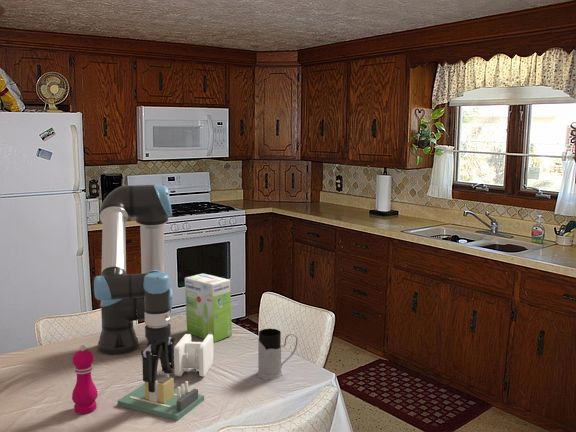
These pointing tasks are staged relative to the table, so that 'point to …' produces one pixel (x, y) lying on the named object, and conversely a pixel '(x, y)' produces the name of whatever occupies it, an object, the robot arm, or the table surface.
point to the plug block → (162, 388)
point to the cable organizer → (193, 355)
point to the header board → (169, 409)
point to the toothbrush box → (208, 306)
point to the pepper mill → (84, 382)
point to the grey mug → (270, 353)
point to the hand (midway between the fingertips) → (159, 396)
